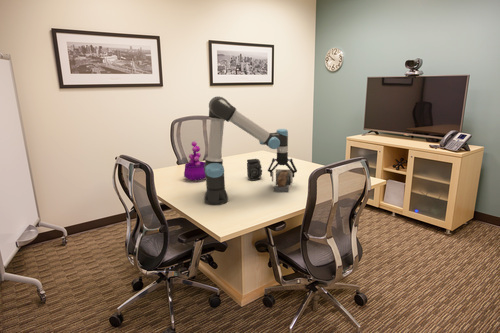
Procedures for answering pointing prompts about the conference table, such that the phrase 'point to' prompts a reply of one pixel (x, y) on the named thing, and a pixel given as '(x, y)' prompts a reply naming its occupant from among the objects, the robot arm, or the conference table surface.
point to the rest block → (281, 189)
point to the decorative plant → (194, 165)
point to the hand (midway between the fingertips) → (282, 181)
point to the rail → (282, 179)
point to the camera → (254, 169)
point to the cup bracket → (287, 175)
